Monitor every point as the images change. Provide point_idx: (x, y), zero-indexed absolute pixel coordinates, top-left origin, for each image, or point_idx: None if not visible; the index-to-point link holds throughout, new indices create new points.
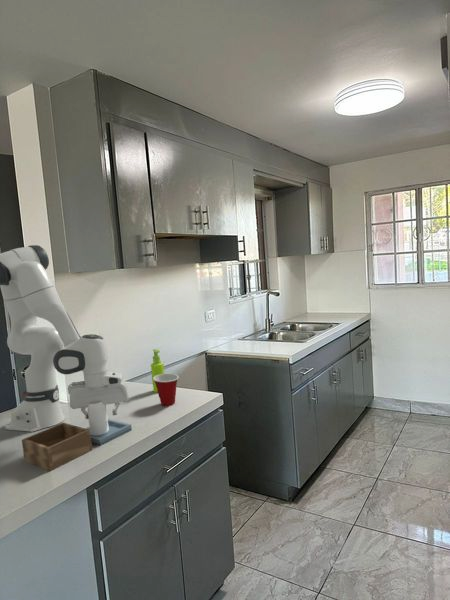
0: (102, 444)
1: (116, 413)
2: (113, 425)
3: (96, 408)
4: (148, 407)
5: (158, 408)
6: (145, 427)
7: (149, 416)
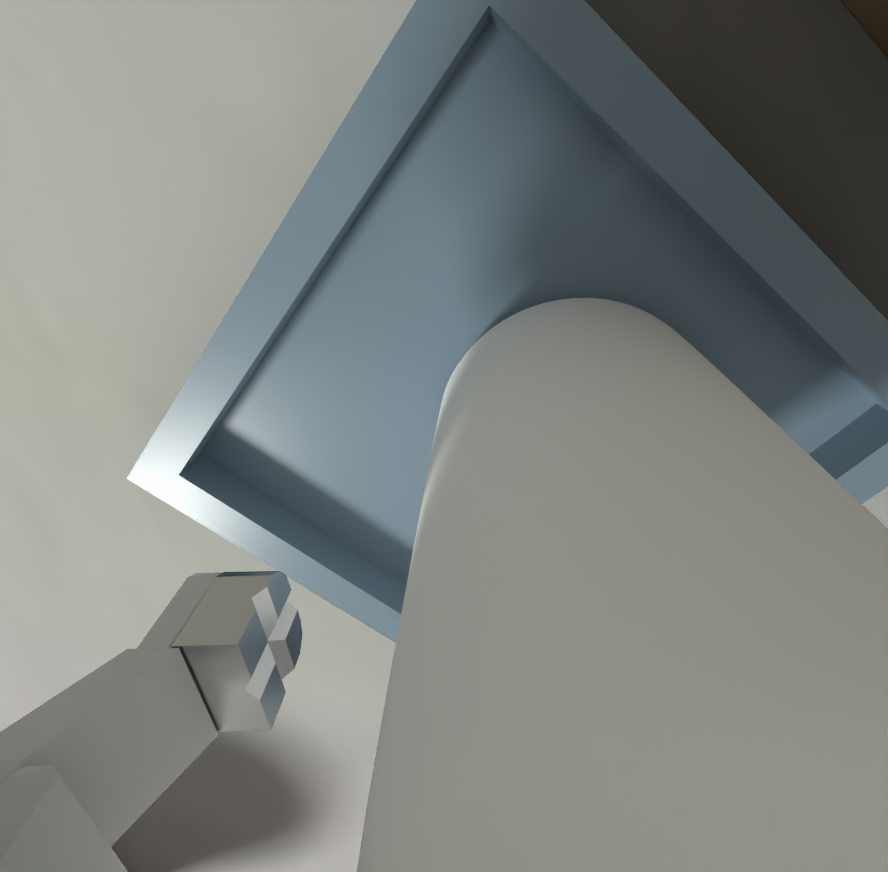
0: None
1: (183, 589)
2: None
3: (709, 665)
4: (213, 858)
5: None
6: (19, 466)
7: None
